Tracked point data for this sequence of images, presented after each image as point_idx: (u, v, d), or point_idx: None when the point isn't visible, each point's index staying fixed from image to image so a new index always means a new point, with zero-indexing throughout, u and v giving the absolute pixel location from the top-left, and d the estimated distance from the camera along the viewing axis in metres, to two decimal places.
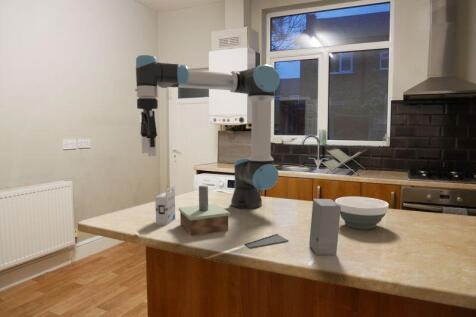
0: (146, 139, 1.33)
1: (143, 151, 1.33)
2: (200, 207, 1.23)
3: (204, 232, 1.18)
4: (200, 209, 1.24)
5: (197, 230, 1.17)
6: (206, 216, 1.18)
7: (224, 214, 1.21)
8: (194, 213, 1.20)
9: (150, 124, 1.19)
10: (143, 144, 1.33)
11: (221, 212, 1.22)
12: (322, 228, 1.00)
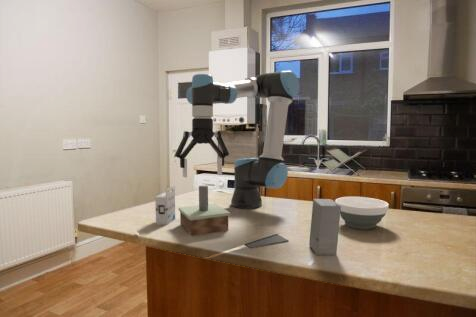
0: (219, 160, 1.25)
1: (217, 172, 1.27)
2: (200, 207, 1.23)
3: (204, 232, 1.18)
4: (200, 209, 1.24)
5: (197, 230, 1.17)
6: (206, 216, 1.18)
7: (224, 214, 1.21)
8: (194, 213, 1.20)
9: (179, 145, 1.19)
10: (217, 165, 1.27)
11: (221, 212, 1.22)
12: (322, 228, 1.00)
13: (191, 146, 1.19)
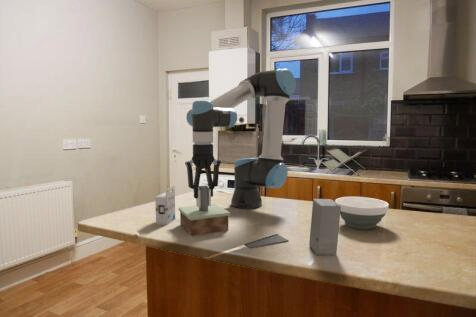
0: (208, 191, 1.25)
1: None
2: (200, 207, 1.23)
3: (204, 232, 1.18)
4: (200, 209, 1.24)
5: (197, 230, 1.17)
6: (206, 216, 1.18)
7: (224, 214, 1.21)
8: (194, 213, 1.20)
9: (188, 176, 1.22)
10: None
11: (221, 212, 1.22)
12: (322, 228, 1.00)
13: (198, 175, 1.21)
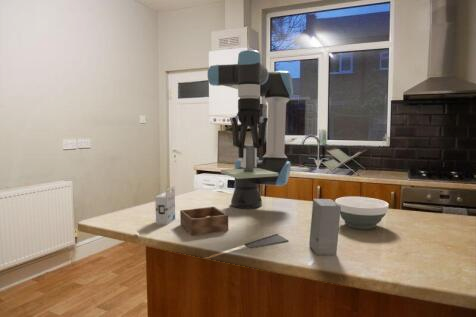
0: None
1: None
2: (245, 168, 1.14)
3: (204, 232, 1.18)
4: (245, 170, 1.14)
5: (197, 230, 1.17)
6: (254, 175, 1.08)
7: (272, 174, 1.11)
8: (240, 173, 1.11)
9: (233, 133, 1.12)
10: None
11: (269, 172, 1.12)
12: (322, 228, 1.00)
13: (244, 132, 1.12)
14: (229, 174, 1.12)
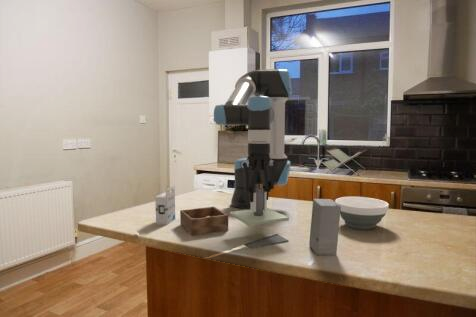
0: None
1: None
2: None
3: (204, 232, 1.18)
4: (255, 214, 1.14)
5: (197, 230, 1.17)
6: (265, 221, 1.08)
7: (283, 219, 1.11)
8: (250, 218, 1.11)
9: (243, 178, 1.12)
10: None
11: (279, 217, 1.12)
12: (322, 228, 1.00)
13: (254, 176, 1.12)
14: (240, 219, 1.11)
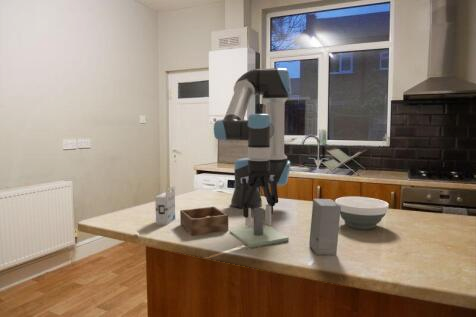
0: (268, 208, 1.17)
1: (266, 220, 1.18)
2: (255, 231, 1.15)
3: (204, 232, 1.18)
4: (255, 233, 1.15)
5: (197, 230, 1.17)
6: (265, 242, 1.09)
7: (283, 239, 1.12)
8: (250, 238, 1.12)
9: (240, 193, 1.12)
10: (266, 213, 1.18)
11: (279, 237, 1.13)
12: (322, 228, 1.00)
13: (251, 193, 1.12)
14: (240, 239, 1.12)
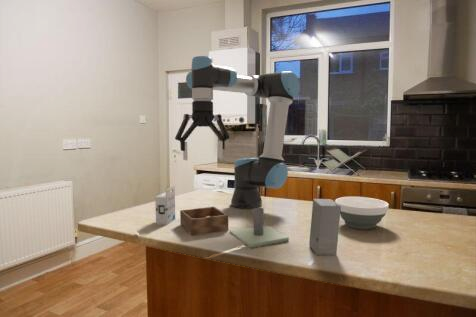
0: (219, 143, 1.25)
1: (218, 156, 1.26)
2: (255, 231, 1.15)
3: (204, 232, 1.18)
4: (255, 233, 1.15)
5: (197, 230, 1.17)
6: (265, 242, 1.09)
7: (283, 239, 1.12)
8: (250, 238, 1.12)
9: (180, 128, 1.19)
10: (218, 148, 1.26)
11: (279, 237, 1.13)
12: (322, 228, 1.00)
13: (191, 129, 1.19)
14: (240, 239, 1.12)
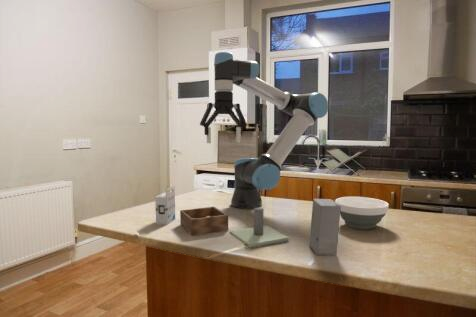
0: (238, 129, 1.42)
1: (236, 140, 1.44)
2: (255, 231, 1.15)
3: (204, 232, 1.18)
4: (255, 233, 1.15)
5: (197, 230, 1.17)
6: (265, 242, 1.09)
7: (283, 239, 1.12)
8: (250, 238, 1.12)
9: (204, 115, 1.36)
10: (236, 134, 1.43)
11: (279, 237, 1.13)
12: (322, 228, 1.00)
13: (214, 116, 1.36)
14: (240, 239, 1.12)
